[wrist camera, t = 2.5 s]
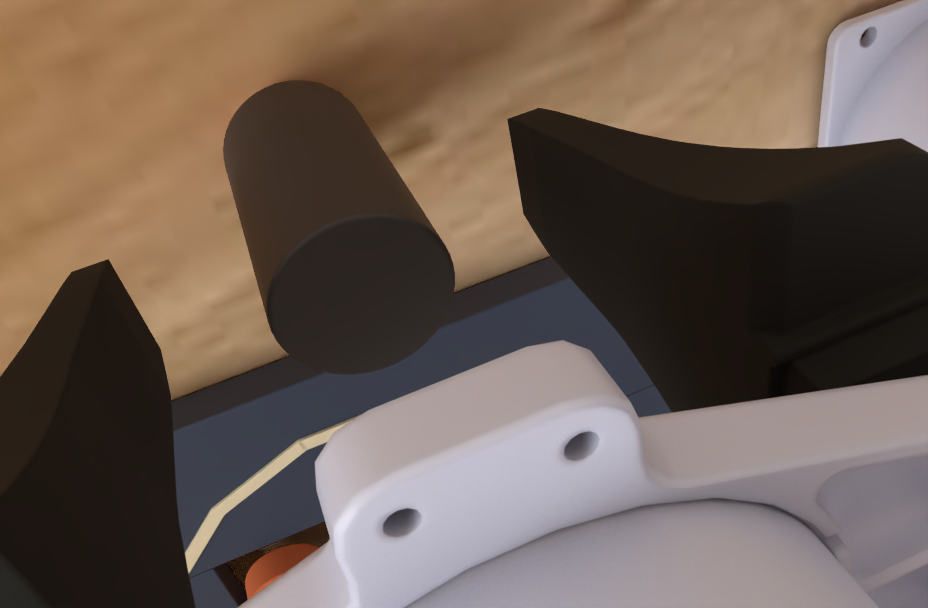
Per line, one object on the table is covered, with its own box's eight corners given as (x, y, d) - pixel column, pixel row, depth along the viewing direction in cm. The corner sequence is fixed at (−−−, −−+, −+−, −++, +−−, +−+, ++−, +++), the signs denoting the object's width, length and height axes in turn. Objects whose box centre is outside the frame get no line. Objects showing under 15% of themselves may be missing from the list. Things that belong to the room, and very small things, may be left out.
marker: (332, 41, 17) (434, 186, 12) (368, 164, 19) (472, 336, 14) (194, 85, 17) (237, 257, 12) (245, 207, 19) (303, 402, 13)
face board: (658, 214, 23) (683, 236, 22) (675, 567, 34) (692, 592, 33) (-63, 489, 20) (-72, 529, 19) (214, 778, 31) (217, 813, 30)
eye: (317, 530, 24) (324, 557, 23) (341, 578, 26) (349, 604, 25) (231, 566, 24) (236, 594, 23) (262, 613, 25) (267, 640, 25)
